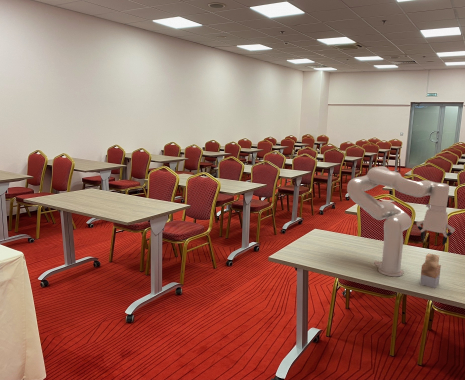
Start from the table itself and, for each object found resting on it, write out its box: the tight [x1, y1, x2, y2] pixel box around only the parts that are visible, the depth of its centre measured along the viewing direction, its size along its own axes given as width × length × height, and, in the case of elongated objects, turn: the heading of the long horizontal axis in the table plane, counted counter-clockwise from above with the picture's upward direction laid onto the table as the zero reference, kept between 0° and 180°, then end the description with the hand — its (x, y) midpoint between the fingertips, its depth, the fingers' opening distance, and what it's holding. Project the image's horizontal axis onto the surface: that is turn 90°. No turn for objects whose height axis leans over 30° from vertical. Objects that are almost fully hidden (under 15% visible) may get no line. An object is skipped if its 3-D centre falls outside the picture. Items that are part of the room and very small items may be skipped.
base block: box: [419, 274, 441, 289], centre depth 198 cm, size 7×7×5 cm
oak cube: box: [424, 253, 440, 268], centre depth 196 cm, size 5×5×5 cm
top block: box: [420, 262, 442, 278], centre depth 197 cm, size 7×7×5 cm
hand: (433, 241), depth 195 cm, fingers open, 9 cm apart
